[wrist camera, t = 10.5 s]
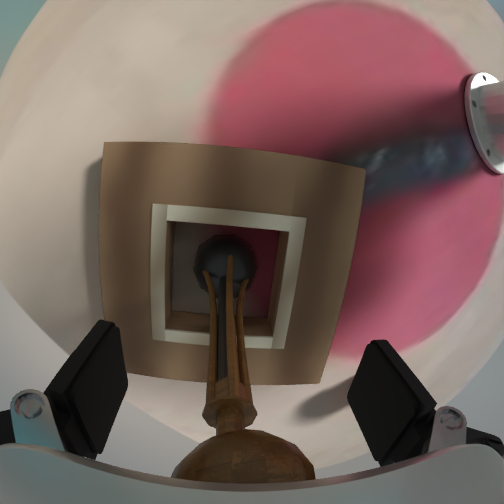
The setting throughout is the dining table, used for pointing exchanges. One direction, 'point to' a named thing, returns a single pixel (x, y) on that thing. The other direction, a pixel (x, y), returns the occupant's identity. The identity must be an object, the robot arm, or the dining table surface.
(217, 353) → the wooden tabletop sculpture
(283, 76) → the dining table surface
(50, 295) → the dining table surface
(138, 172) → the socket board
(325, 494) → the robot arm
